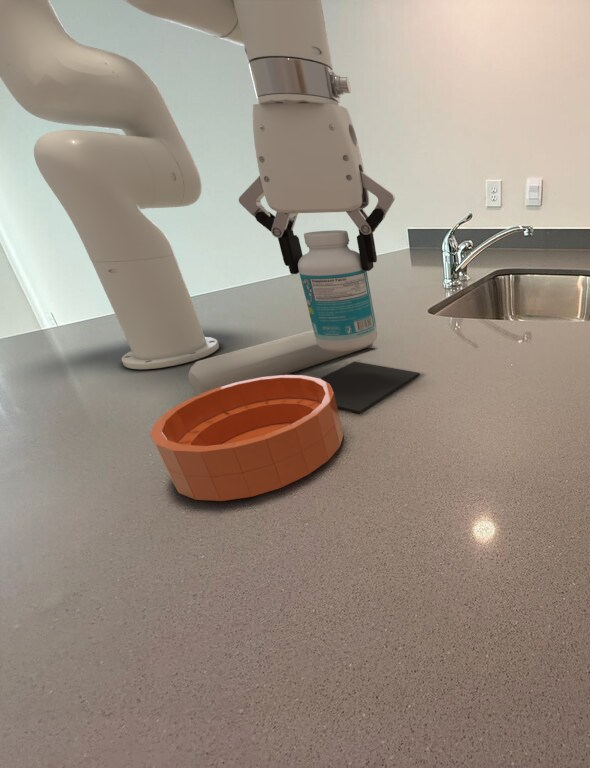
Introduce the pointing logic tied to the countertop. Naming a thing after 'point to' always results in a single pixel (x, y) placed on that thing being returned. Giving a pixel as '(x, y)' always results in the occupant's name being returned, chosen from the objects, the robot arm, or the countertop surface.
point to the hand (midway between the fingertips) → (333, 269)
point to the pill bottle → (337, 292)
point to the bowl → (248, 436)
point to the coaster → (365, 384)
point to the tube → (261, 361)
